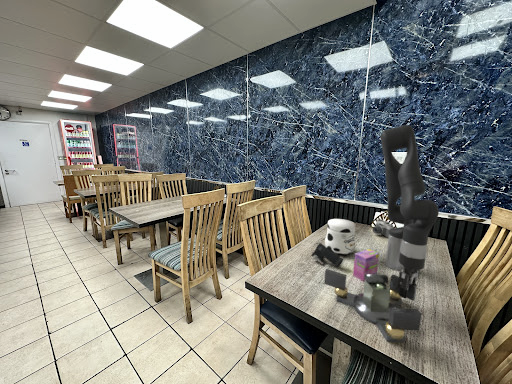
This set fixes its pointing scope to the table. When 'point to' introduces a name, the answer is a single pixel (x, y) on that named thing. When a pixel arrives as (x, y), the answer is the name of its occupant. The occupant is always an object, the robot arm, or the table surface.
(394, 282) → the knob
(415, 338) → the table surface
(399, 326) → the knob
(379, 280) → the tribrach
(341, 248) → the milk container
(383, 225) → the camera
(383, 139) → the robot arm
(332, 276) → the grey upright plank
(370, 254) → the box
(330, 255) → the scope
